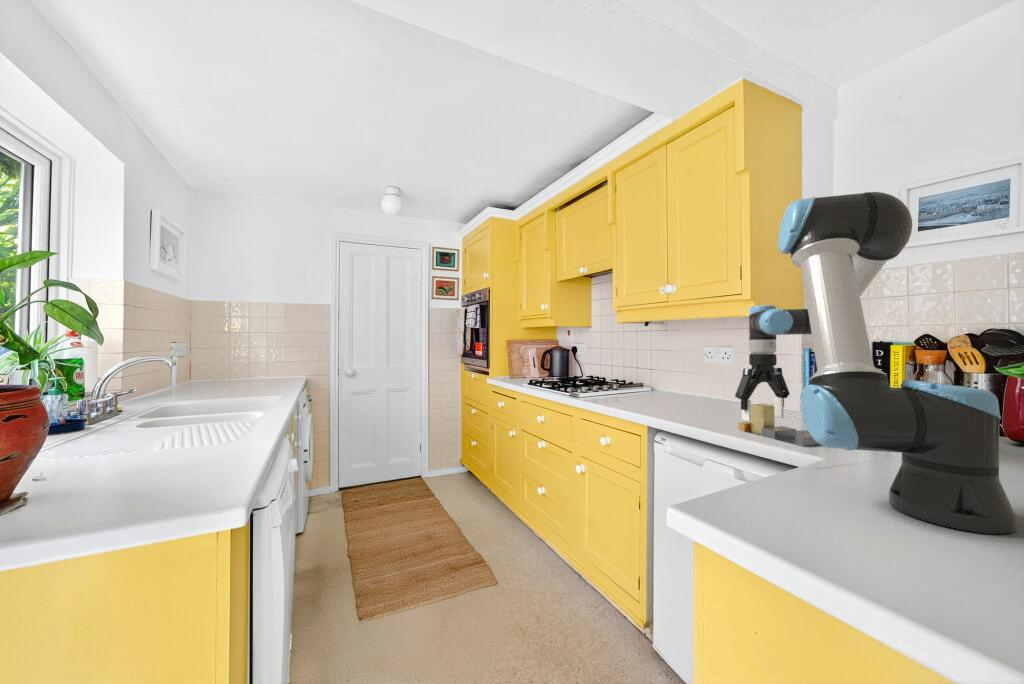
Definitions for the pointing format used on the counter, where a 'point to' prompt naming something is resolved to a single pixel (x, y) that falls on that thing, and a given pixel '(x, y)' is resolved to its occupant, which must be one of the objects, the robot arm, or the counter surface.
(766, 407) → the brass block
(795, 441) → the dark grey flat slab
